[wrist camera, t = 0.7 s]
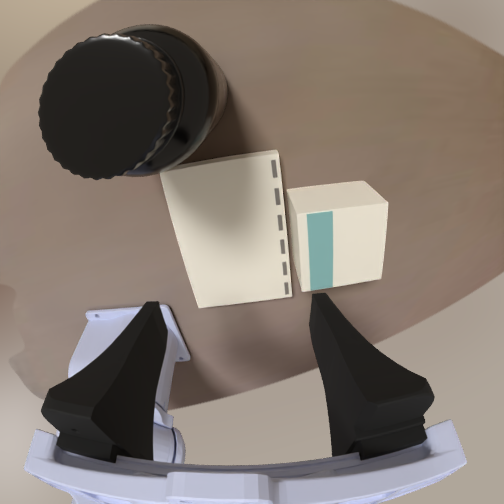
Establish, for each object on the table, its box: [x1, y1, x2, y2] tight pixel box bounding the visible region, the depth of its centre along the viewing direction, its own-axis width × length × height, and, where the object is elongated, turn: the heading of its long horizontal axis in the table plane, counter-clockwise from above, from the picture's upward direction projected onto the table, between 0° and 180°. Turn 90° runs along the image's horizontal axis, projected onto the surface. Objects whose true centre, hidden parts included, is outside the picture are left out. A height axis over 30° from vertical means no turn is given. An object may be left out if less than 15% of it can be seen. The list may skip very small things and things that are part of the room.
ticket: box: [160, 150, 292, 308], centre depth 22 cm, size 8×12×1 cm, turn 8°
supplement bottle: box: [38, 24, 228, 180], centre depth 12 cm, size 7×7×12 cm
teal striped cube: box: [286, 181, 388, 292], centre depth 21 cm, size 6×6×5 cm
